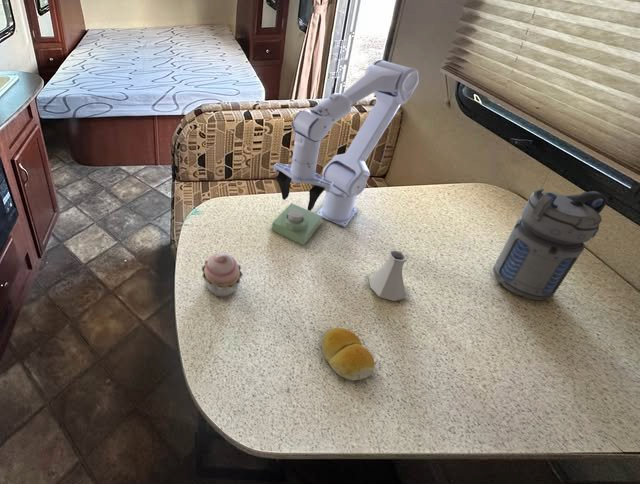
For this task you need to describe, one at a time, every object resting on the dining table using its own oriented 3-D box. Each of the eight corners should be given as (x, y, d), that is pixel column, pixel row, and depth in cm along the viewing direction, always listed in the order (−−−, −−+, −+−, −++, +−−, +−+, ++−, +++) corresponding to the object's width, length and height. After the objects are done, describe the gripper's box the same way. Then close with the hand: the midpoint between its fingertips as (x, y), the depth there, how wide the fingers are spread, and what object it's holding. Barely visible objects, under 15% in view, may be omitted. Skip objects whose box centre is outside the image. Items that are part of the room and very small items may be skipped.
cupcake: (198, 299, 82) (198, 267, 78) (203, 267, 90) (204, 236, 86) (240, 307, 80) (243, 274, 75) (242, 273, 88) (245, 242, 83)
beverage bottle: (575, 299, 78) (642, 205, 67) (517, 306, 77) (574, 212, 66) (529, 263, 87) (580, 174, 76) (476, 268, 86) (520, 180, 75)
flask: (396, 276, 86) (407, 243, 81) (411, 302, 79) (425, 269, 75) (363, 274, 86) (372, 242, 82) (376, 301, 80) (387, 268, 75)
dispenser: (290, 210, 108) (292, 197, 106) (320, 223, 102) (323, 210, 100) (271, 229, 101) (273, 217, 99) (303, 245, 95) (305, 232, 93)
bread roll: (347, 330, 74) (351, 317, 73) (380, 375, 67) (385, 361, 65) (310, 340, 73) (313, 327, 71) (340, 386, 65) (344, 373, 63)
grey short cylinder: (291, 212, 101) (292, 206, 100) (304, 218, 98) (305, 212, 97) (285, 219, 98) (286, 213, 97) (298, 225, 96) (299, 219, 95)
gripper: (269, 155, 92) (264, 199, 98) (328, 176, 83) (319, 223, 89) (283, 144, 96) (277, 187, 102) (340, 163, 87) (330, 208, 93)
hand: (297, 203), depth 96 cm, fingers open, 6 cm apart
